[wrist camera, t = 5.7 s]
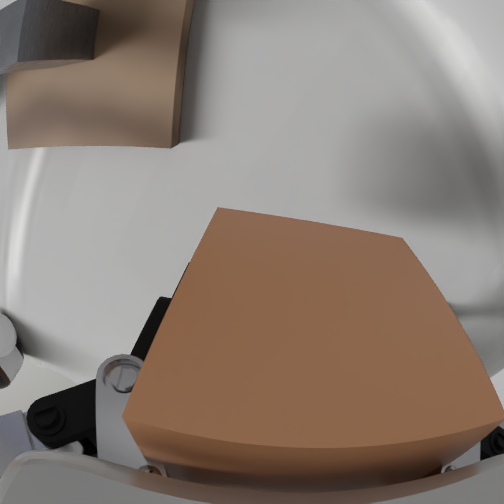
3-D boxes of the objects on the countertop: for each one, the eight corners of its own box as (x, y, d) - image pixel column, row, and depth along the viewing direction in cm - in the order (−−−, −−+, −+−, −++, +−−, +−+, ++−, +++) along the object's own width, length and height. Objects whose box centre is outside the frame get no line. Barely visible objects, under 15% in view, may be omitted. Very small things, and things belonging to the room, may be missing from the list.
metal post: (93, 60, 14) (17, 62, 8) (53, 68, 14) (-20, 78, 8) (100, 9, 12) (28, -6, 6) (59, 21, 12) (-13, 17, 6)
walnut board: (178, 144, 18) (171, 148, 17) (19, 144, 18) (8, 149, 17) (207, -64, 10) (202, -73, 8) (33, -17, 10) (22, -19, 9)
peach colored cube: (348, 360, 12) (368, 508, 6) (209, 344, 12) (171, 499, 6) (402, 238, 9) (506, 417, 3) (217, 207, 9) (121, 416, 3)
